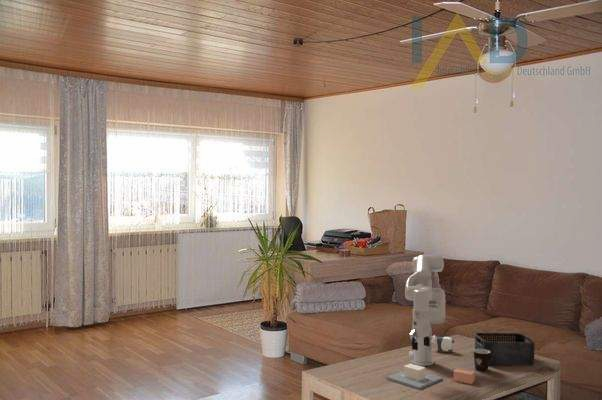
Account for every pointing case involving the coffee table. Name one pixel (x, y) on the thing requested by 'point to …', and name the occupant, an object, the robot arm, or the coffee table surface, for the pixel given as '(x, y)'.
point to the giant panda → (443, 343)
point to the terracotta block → (464, 375)
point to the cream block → (414, 371)
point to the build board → (414, 380)
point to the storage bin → (507, 348)
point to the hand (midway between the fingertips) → (420, 347)
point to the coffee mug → (482, 359)
